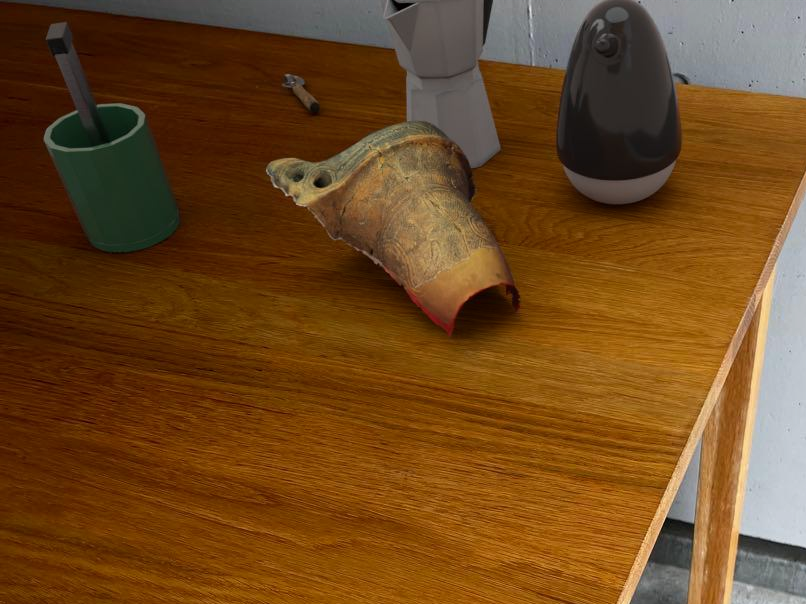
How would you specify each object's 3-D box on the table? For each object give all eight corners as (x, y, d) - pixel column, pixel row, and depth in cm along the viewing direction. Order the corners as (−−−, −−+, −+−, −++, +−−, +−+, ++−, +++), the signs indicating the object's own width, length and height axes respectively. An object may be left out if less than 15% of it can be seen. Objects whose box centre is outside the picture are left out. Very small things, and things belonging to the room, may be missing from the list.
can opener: (322, 112, 101) (319, 101, 101) (298, 118, 101) (295, 106, 100) (300, 77, 107) (297, 65, 106) (278, 82, 107) (275, 70, 106)
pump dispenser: (544, 216, 86) (530, 26, 75) (575, 154, 93) (567, -30, 82) (667, 227, 84) (672, 33, 73) (690, 162, 91) (697, -26, 79)
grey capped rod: (122, 229, 88) (45, 39, 77) (126, 211, 90) (50, 24, 79) (137, 226, 88) (62, 37, 77) (140, 209, 90) (67, 21, 79)
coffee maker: (453, 192, 90) (421, -33, 77) (373, 171, 93) (329, -48, 80) (544, 116, 98) (529, -99, 85) (467, 99, 102) (441, -111, 88)
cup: (83, 260, 87) (37, 158, 80) (93, 210, 92) (51, 111, 86) (178, 245, 87) (140, 142, 81) (183, 196, 93) (148, 97, 86)
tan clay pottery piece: (396, 272, 66) (274, 88, 73) (352, 391, 75) (246, 217, 81) (597, 248, 77) (476, 88, 83) (539, 355, 85) (433, 202, 91)
